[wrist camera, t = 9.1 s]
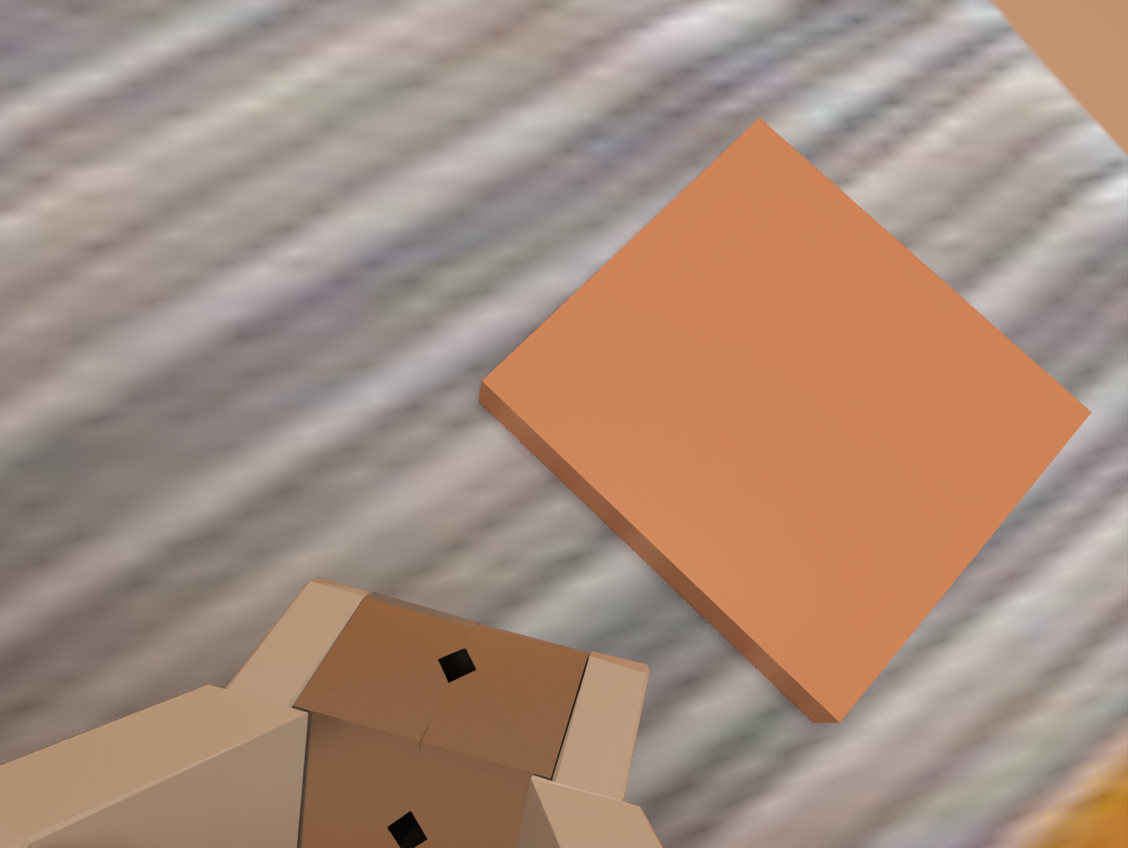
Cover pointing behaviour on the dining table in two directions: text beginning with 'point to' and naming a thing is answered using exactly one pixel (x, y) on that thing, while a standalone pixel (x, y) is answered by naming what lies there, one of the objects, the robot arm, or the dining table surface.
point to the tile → (785, 418)
